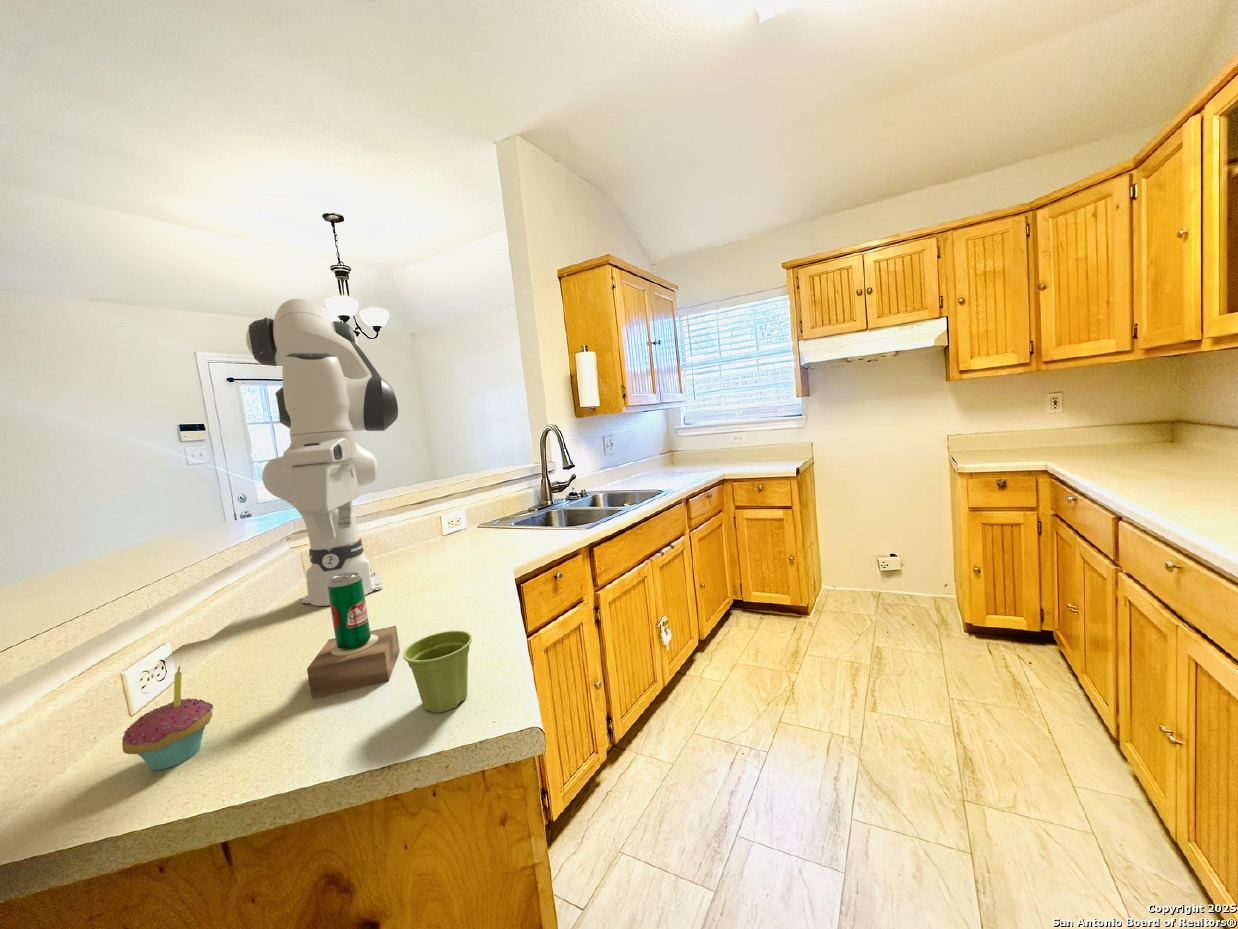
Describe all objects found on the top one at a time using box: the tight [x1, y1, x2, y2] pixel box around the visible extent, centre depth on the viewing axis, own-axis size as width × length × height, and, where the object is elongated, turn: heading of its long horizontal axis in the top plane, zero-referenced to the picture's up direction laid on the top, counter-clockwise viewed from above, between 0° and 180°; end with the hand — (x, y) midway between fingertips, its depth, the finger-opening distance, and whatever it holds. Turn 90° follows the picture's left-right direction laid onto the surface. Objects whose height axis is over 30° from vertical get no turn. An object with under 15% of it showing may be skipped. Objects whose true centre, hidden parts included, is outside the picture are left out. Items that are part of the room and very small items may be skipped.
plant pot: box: [402, 630, 473, 713], centre depth 66 cm, size 9×9×9 cm
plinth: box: [306, 625, 401, 700], centre depth 77 cm, size 11×11×5 cm
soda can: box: [328, 572, 371, 650], centre depth 77 cm, size 5×5×12 cm
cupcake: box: [121, 665, 214, 771], centre depth 59 cm, size 9×8×12 cm
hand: (338, 533), depth 76 cm, fingers open, 8 cm apart
